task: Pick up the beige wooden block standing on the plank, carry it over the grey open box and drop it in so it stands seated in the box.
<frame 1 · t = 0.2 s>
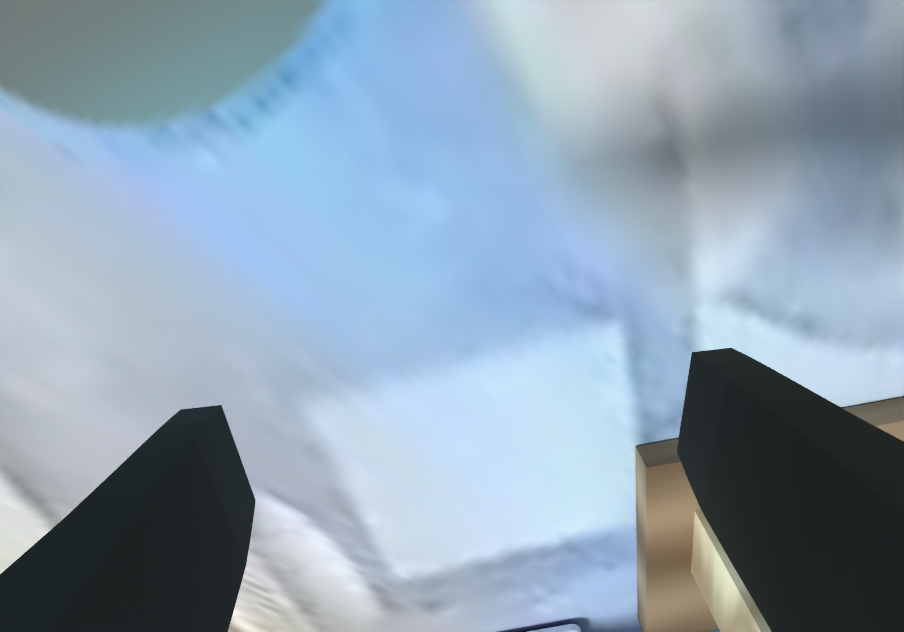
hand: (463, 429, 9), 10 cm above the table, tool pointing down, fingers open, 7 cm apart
beige wooden block: (739, 534, 25), point 1 cm above the table, touching plank
plank: (878, 498, 26), on the table
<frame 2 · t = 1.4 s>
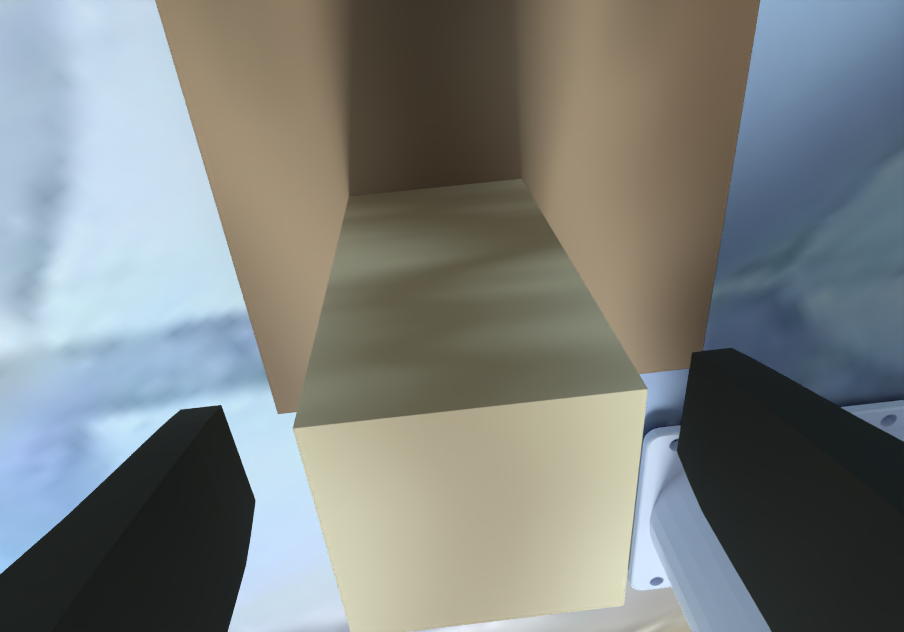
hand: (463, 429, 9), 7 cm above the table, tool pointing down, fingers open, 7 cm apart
beige wooden block: (443, 266, 14), point 1 cm above the table, touching plank
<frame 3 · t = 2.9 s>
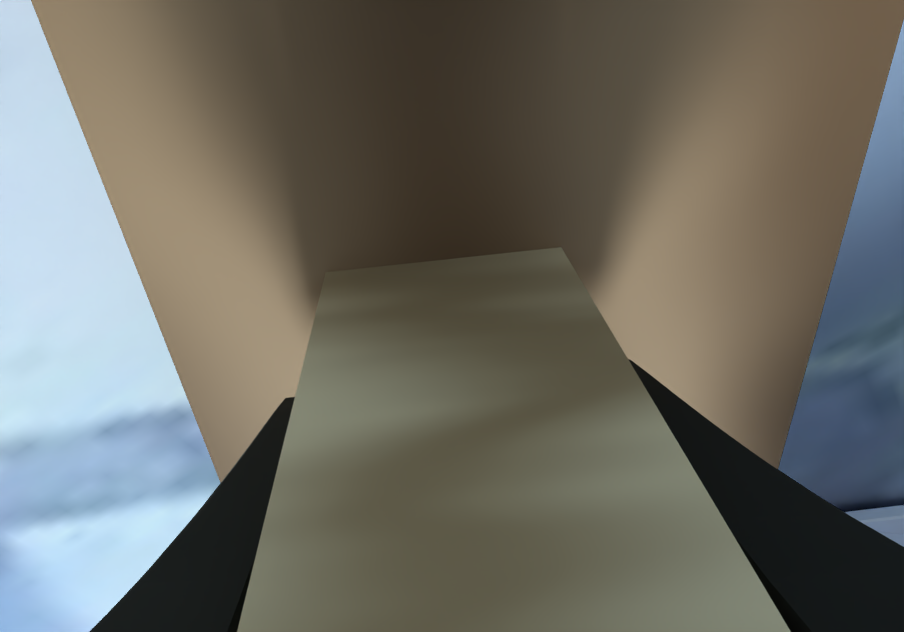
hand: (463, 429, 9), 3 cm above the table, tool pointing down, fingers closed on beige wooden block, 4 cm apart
beige wooden block: (453, 357, 11), point 1 cm above the table, touching gripper, plank
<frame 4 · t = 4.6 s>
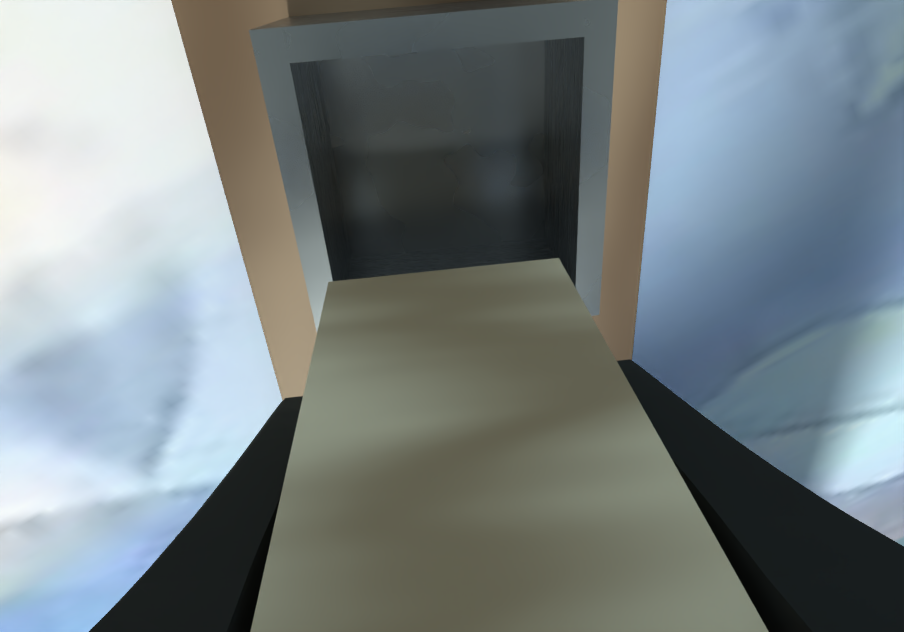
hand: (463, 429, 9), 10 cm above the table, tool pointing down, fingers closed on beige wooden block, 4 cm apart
beige wooden block: (452, 363, 11), point 8 cm above the table, touching gripper
plank: (446, 258, 19), on the table
grey open box: (435, 133, 17), resting on plank
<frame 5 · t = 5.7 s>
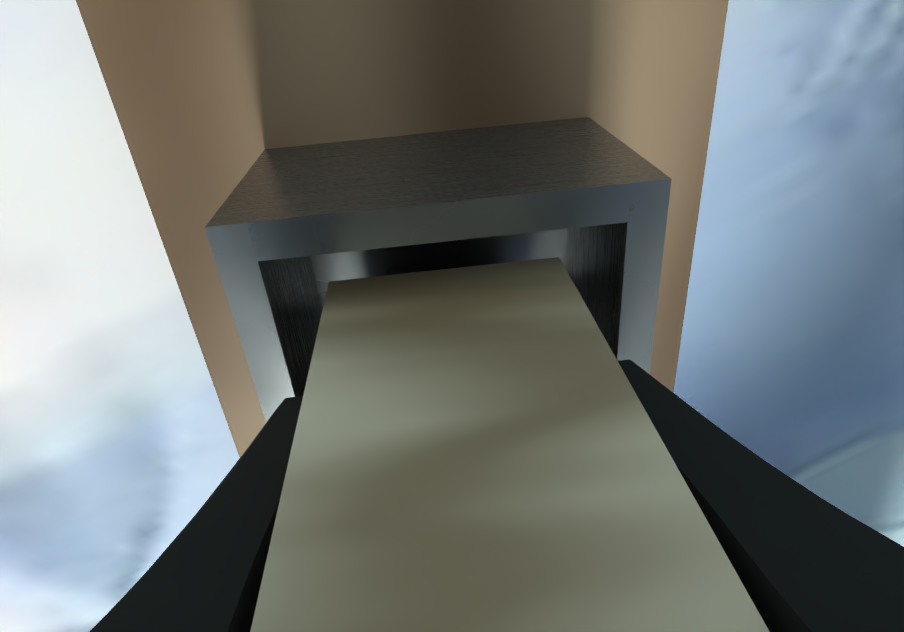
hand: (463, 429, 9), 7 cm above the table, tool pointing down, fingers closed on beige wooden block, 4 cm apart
beige wooden block: (453, 363, 11), point 4 cm above the table, touching gripper
plank: (451, 383, 17), on the table
grey open box: (439, 256, 15), resting on plank
when the fingers open (7 cm above the table, at t = 6.5 s): beige wooden block drops 2 cm, resting on grey open box.
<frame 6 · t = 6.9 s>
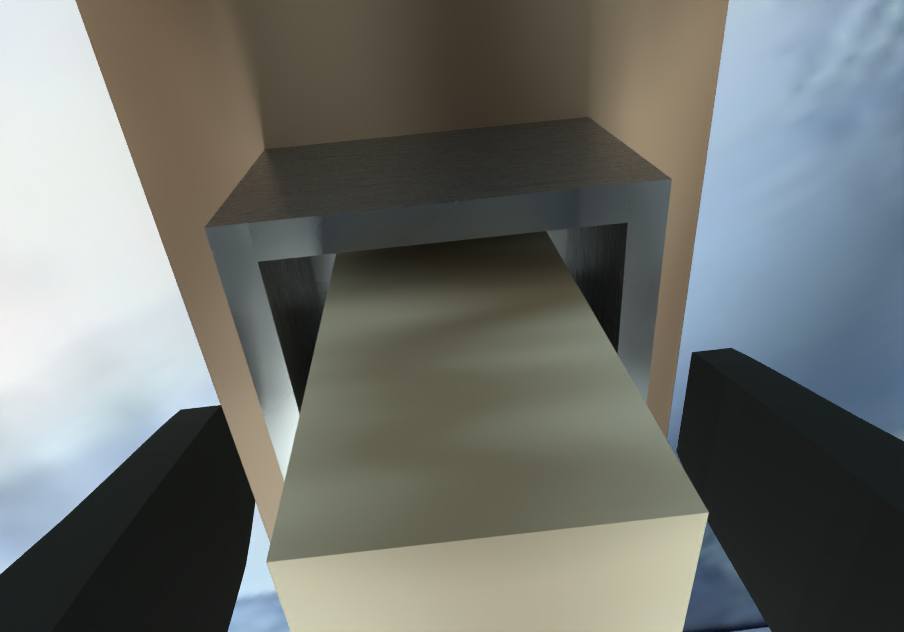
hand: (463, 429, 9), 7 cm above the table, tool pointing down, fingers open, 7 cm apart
beige wooden block: (445, 302, 13), point 2 cm above the table, touching grey open box
plank: (451, 383, 17), on the table
grey open box: (439, 256, 15), resting on plank
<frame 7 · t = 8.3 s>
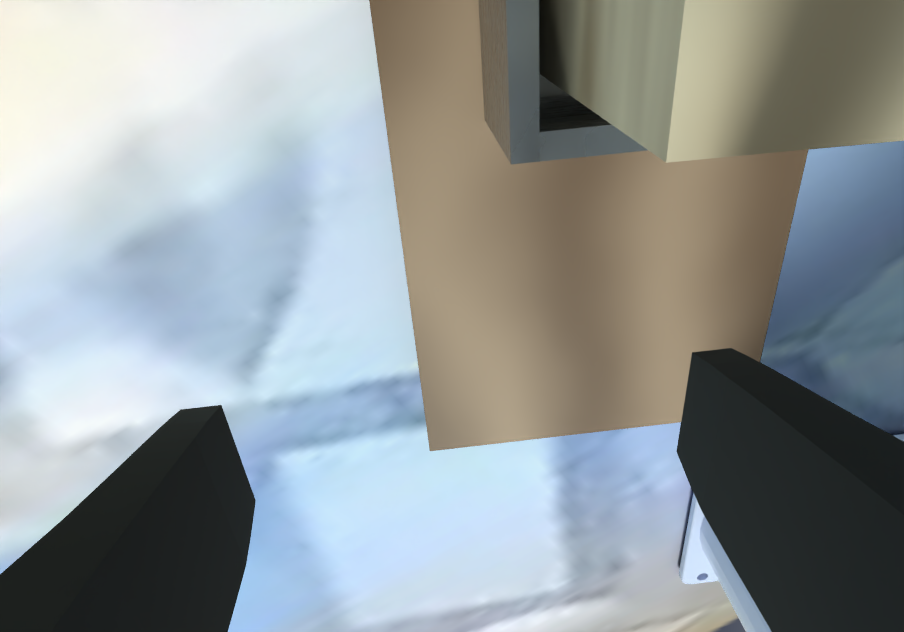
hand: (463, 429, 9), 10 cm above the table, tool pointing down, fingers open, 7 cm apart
plank: (593, 122, 17), on the table
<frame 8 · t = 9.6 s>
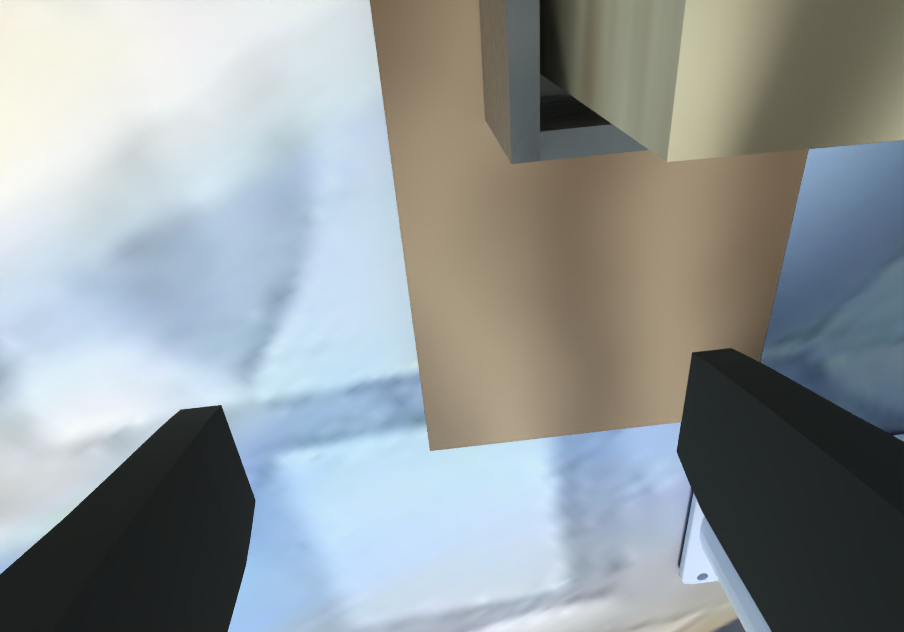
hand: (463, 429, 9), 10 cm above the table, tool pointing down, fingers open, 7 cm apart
plank: (593, 122, 17), on the table
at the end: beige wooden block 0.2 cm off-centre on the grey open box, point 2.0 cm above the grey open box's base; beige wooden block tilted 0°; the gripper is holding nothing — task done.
